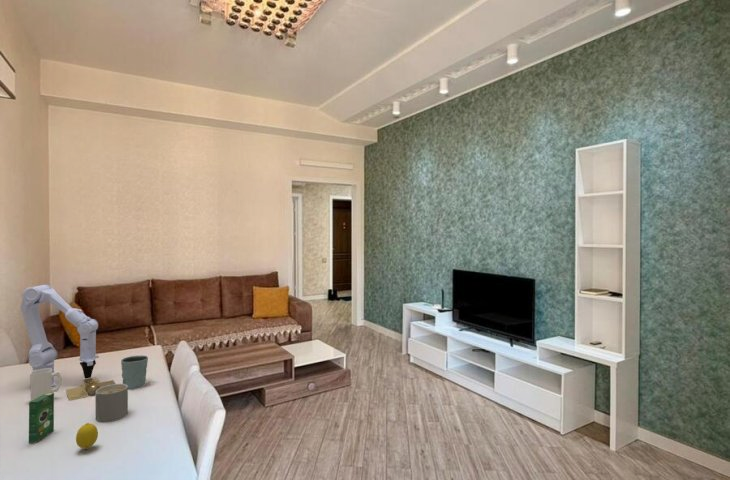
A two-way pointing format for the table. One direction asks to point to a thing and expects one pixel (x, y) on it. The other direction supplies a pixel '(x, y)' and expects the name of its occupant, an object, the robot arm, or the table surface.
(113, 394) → the coffee mug
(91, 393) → the bronze leaf with pin
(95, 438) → the lemon
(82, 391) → the brass leaf
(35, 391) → the mug
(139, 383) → the teal cup
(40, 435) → the coffee box
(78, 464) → the table surface
